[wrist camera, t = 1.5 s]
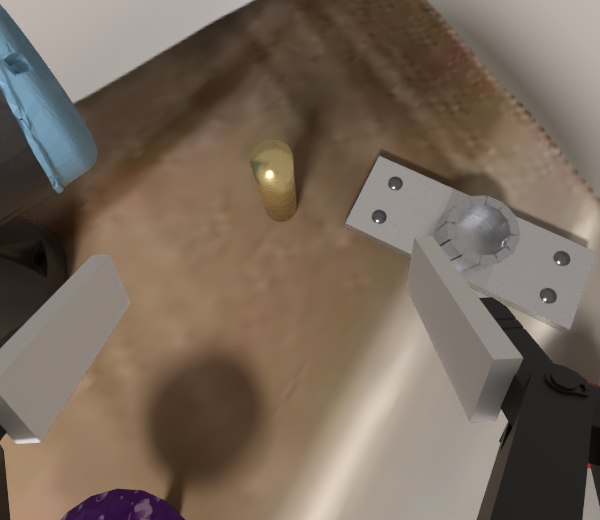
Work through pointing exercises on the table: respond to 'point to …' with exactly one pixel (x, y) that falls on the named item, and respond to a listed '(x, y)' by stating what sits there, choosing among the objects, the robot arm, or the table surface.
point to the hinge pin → (275, 178)
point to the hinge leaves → (475, 241)
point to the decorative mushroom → (123, 507)
